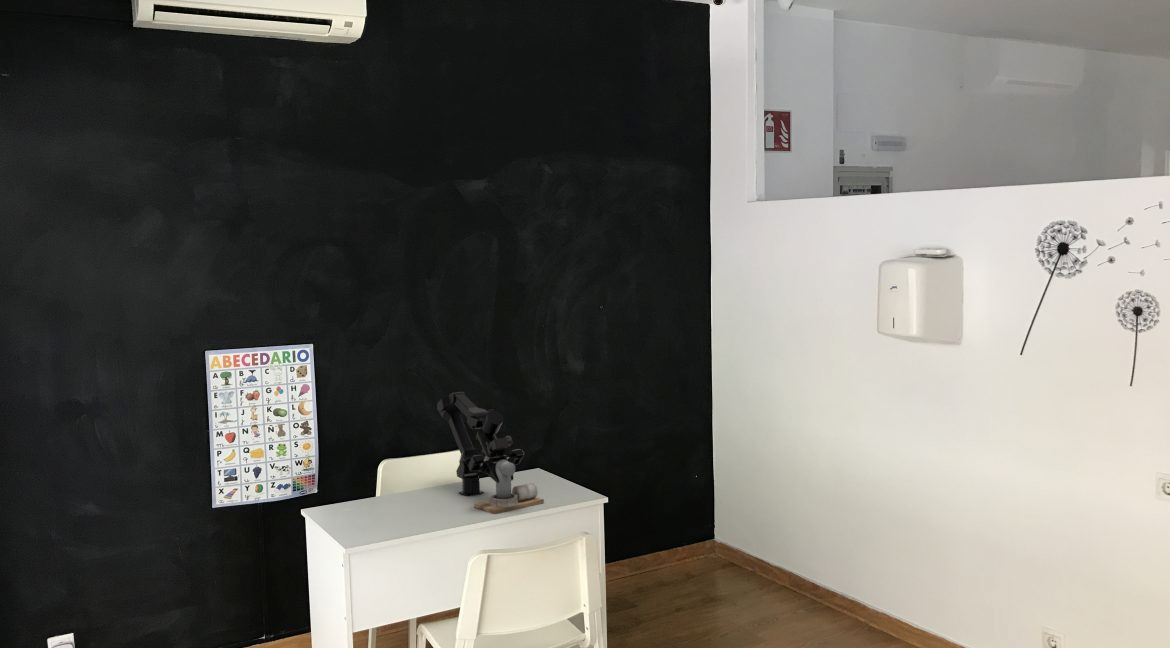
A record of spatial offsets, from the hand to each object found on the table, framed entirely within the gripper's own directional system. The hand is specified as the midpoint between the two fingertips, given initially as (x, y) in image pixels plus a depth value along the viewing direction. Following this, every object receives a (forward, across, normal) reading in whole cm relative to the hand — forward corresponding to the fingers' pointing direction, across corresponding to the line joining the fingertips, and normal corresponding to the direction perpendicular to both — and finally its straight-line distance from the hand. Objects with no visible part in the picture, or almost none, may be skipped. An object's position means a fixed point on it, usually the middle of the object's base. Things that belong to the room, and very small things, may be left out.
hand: (505, 480), depth 297 cm
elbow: (+4, 0, +6) cm, 7 cm away
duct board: (+4, +3, +9) cm, 10 cm away
